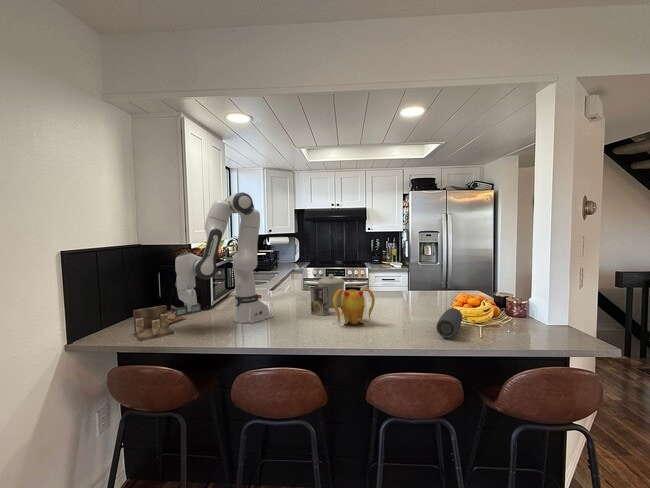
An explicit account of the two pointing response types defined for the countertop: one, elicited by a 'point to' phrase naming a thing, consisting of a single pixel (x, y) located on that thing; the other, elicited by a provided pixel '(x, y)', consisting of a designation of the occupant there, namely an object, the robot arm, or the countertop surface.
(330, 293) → the canister
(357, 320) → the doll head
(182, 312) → the glasses
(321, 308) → the coffee box
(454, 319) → the bluetooth speaker
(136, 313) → the display stand
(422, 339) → the countertop surface
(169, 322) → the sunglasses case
